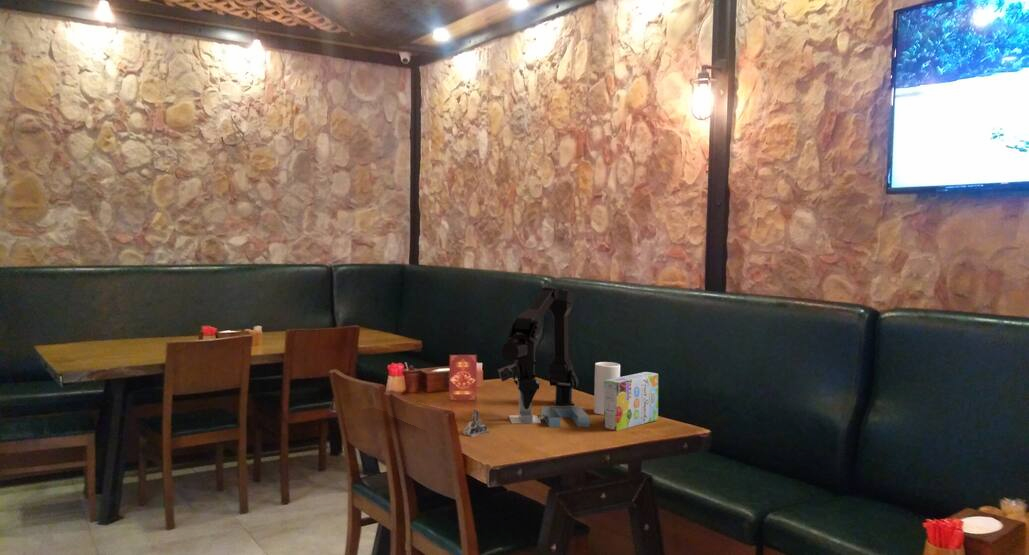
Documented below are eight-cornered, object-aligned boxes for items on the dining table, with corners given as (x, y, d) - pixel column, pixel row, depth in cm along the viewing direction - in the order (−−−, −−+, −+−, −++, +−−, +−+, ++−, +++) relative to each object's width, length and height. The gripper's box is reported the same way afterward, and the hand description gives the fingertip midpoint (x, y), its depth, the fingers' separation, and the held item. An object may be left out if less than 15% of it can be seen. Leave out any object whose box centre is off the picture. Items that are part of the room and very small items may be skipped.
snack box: (644, 417, 255) (645, 371, 254) (658, 420, 251) (660, 373, 250) (602, 428, 240) (603, 379, 239) (616, 431, 236) (618, 381, 235)
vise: (535, 415, 254) (535, 406, 254) (579, 415, 256) (579, 406, 256) (542, 427, 240) (542, 417, 239) (589, 427, 241) (589, 417, 241)
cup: (618, 415, 256) (619, 366, 255) (592, 414, 258) (593, 365, 257) (619, 410, 264) (621, 362, 263) (595, 408, 266) (596, 361, 265)
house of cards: (474, 428, 239) (474, 403, 238) (493, 434, 232) (494, 408, 232) (451, 433, 232) (451, 407, 232) (470, 439, 226) (470, 412, 226)
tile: (508, 417, 252) (508, 415, 252) (536, 416, 253) (536, 415, 253) (511, 424, 243) (511, 422, 243) (540, 423, 244) (541, 422, 244)
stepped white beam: (518, 417, 250) (518, 389, 249) (529, 417, 250) (530, 388, 249) (521, 422, 243) (521, 393, 242) (532, 422, 243) (533, 393, 243)
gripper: (497, 352, 255) (496, 400, 256) (503, 362, 236) (502, 413, 237) (531, 352, 256) (530, 399, 257) (540, 361, 238) (539, 413, 239)
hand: (524, 406), depth 248 cm, fingers open, 7 cm apart
